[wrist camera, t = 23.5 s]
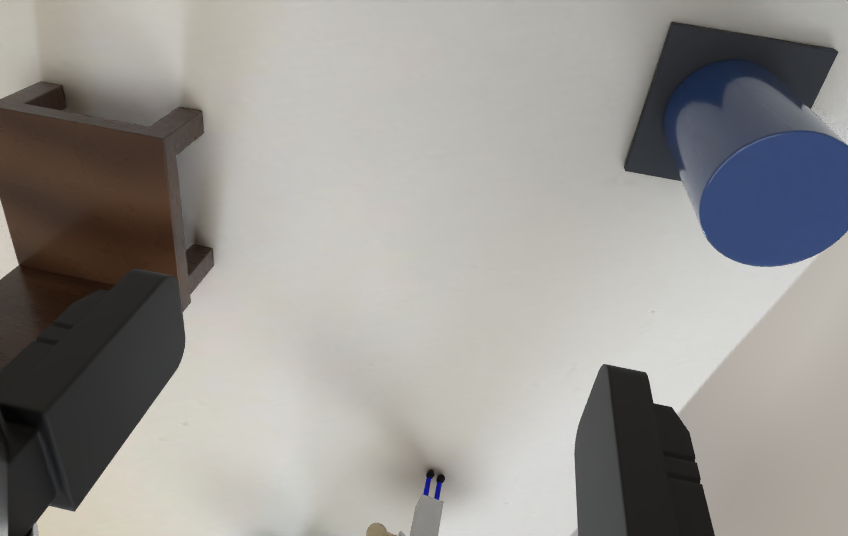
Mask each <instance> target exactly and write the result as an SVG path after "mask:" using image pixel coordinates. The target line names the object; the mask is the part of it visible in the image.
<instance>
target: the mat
mask: <svg viewBox="0 0 848 536" xmlns="http://www.w3.org/2000/svg"><path fill="white" fill-rule="evenodd" d="M837 54H838V51H836V50H835V49H832V48H826V47H820V46H814V45H808V44H802V43H796V42H790V41H784V40H778V39H772V38H766V37H760V36H754V35H748V34H742V33H736V32H730V31H724V30H718V29H712V28H706V27H699V26H693V25H687V24H681V23H675V22H672V23H671V25H670V28H669V31H668V34H667V37H666V40H665V43H664V46H663V49H662V53H661V56H660V59H659V62H658V65H657V68H656V71H655V74H654V77H653V80H652V83H651V86H650V89H649V92H648V95H647V98H646V101H645V104H644V107H643V110H642V113H641V116H640V119H639V123H638V126H637V129H636V132H635V135H634V138H633V141H632V144H631V147H630V150H629V153H628V156H627V159H626V162H625V165H624V168H625V171H629V172H634V173H640V174H645V175H651V176H656V177H662V178H667V179H673V180H678V181H682V180H681V178H680V175H679V173H678V170H677V168H676V166H675V163H674V161H673V158H672V156H671V154H670V151H669V149H668V146H667V144H666V141H665V138H664V134H663V124H662V123H663V115H664V111H665V108H666V105H667V103H668V101H669V99H670V97H671V95H672V94H673V92H674V91H675V90H676V88H677V87H678V86H679V85H680V84H681V83H682V82H683V81H684V80H685V79H686V78H687V77H688V76H690V75H691V74H693V73H694V72H695V71H697V70H699V69H701V68H702V67H705V66H707V65H709V64H712V63H715V62H719V61H724V60H735V59H737V60H747V61H752V62H755V63H757V64H760V65H762V66H764V67H766V68H767V69H768V70H770V71H771V72H772V73H773V74H774V75H775V76H776V77H777V78H779V79H780V80H781V81H782V82H783V83H784V84H785V85H786V86H787V87H788V88H789V89H790V90H791V91H792V92H793V93H794V94H795V95H796V96H797V97H798V98H799V99H800V100H801V101H802V102H803V103H804V104H806V105H807V106H808V107H809V108H810V109H811V108H812V106H813V103H814V101H815V99H816V97H817V95H818V93H819V91H820V89H821V87H822V85H823V83H824V81H825V79H826V77H827V74H828V72H829V70H830V68H831V66H832V64H833V62H834V60H835V58H836V56H837Z"/></svg>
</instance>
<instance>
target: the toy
mask: <svg viewBox="0 0 848 536" xmlns="http://www.w3.org/2000/svg"><path fill="white" fill-rule="evenodd" d="M433 476H434V471H433V470H429V471H428V472H427V474H426V477H427V478H426V483H425V489H424V494H422V496H421V498H420V499H419V501H418V503H417V505H416V507H415V512H414V517H413V522H412V527H411V532H410V536H438V532H439V526H440V519H441V513H442V507H443V501H440V500H439V497H440V491H441V485H442V483H443V482H444V480H445V476H444V475H439V476H438V477H437V480H436V481H437V486H436V491H435V497H434V498H432V497H429V496H428V493H429V488H430V482H431V479H432V478H433ZM366 536H396V535H393V534H390V533H388V532H387V530H386V528H385V527H384V526H383V525H382V524H380V523H374V524H372V525H370V526H369V527H368V529H367V532H366ZM398 536H405V535H404V534H403V532H402V531H400V533H399V535H398Z"/></svg>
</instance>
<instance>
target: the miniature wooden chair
mask: <svg viewBox="0 0 848 536" xmlns="http://www.w3.org/2000/svg"><path fill="white" fill-rule="evenodd" d="M66 108H67V106H66V101H65V96H64V91H63V86H62V85H58V84H52V83H47V82H41V81H40V82H38V83H36V84H33V85H31V86H29V87H27V88H24V89H22V90H20V91H18V92H15V93H13V94H11V95H9V96H7V97H4V98H2V99H0V199H1V203H2V207H3V210H4V214H5V217H6V221H7V224H8V228H9V231H10V235H11V239H12V242H13V246H14V249H15V253H16V256H17V260H18V263H19V266H17V267H16V268H15V269H13V270H12V271H11V272H10V273H8V274H7V275H6V276H4V277H3V278H2V279H1V280H0V371H1V370H2V369H3V368H4V367H5V366H6V365H8V364H9V363H10V362H11V361H12V360H13V359H14V358H15V357H16V356H17V355H18V354H19V353H20V352H21V351H22V350H23V349H24V348H26V347H27V346H28V345H29V344H30V343H31V342H32V341H36V339H37V336H38V335H39V334H40V333H41V332H42V331H44V330H45V329H46V328H47V327H48V326H49V325H50V326H52V325H53V321H54V320H55V319H56V318H57V317H58V316H59V315H60V314H62V313H63V312H64V311H65V310H66V309H67V308H68V307H69V306H70V305H71V304H72V303H74V302H76V301H78V300H79V299H81V298H83V297H85V296H87V295H89V294H91V293H93V292H95V291H97V290H99V289H103V290H108V291H109V290H110V289H111V288H112V287H113V286H114V285H115V284H116V283H117V282H118V281H119V280H120V279H121V278H122V277H123V276H124V275H125V274H126V273H127V272H129V271H130V270H132V269H142V270H147V271H152V272H156V273H161V274H166V275H171V276H174V277H176V278H177V280H178V282H179V287H180V295H181V304H182V312H183V311H184V310H185V309H186V308H187V306H188V305H189V304H190V303H191V298H190V294H191V293H192V292H193V291H194V289H195V288H196V287H197V286H198V285H199V283H200V282H201V281H202V280H203V278H204V277H205V276H206V275H207V273H208V272H209V271H210V270H211V268H212V267H213V266H214V264H213V250H212V248H207V247H202V246H197V245H191V246H190V248H189V249H188V250H187V251H186V249H185V239H184V229H183V219H182V210H181V200H180V190H179V180H178V171H177V161H176V155H177V154H179V153H180V152H181V151H182V150H184V149H185V148H186V147H187V146H189V145H190V144H191V143H192V142H194V141H195V140H196V139H197V138H198V137H200V136H201V135H202V134H203V133H204V131H203V117H202V111H200V110H195V109H189V108H184V107H178V108H177V109H175V110H174V111H172V112H171V113H169V114H168V115H166V116H165V117H163V118H162V119H161V120H159V121H158V122H156V123H155V124H153V125H152V126H150V127H147V126H142V125H136V124H131V123H125V122H120V121H115V120H109V119H104V118H98V117H93V116H88V115H82V114H77V113H72V112H66V111H62V110H64V109H66Z"/></svg>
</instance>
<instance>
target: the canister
mask: <svg viewBox="0 0 848 536" xmlns="http://www.w3.org/2000/svg"><path fill="white" fill-rule="evenodd" d="M662 124H663V134H664V138H665V141H666V144H667V146H668V149H669V151H670V154H671V156H672V158H673V161H674V163H675V166H676V168H677V170H678V173H679V175H680V178H681V180H682V182H683V185H684V187H685V190H686V192H687V195H688V197H689V199H690V202H691V204H692V207H693V209H694V211H695V214H696V216H697V219H698V221H699V223H700V226H701V228H702V231H703V233H704V235H705V237H706V238H707V240H708V241H709V242H710V244H711V245H712V246H713V247H714V248H715V249H716V250H717V251H718V252H720V253H721V254H723V255H724V256H726V257H728V258H730V259H732V260H734V261H737V262H740V263H742V264H747V265H751V266H760V267H773V266H782V265H788V264H792V263H796V262H799V261H802V260H805V259H807V258H810V257H812V256H814V255H816V254H818V253H820V252H822V251H824V250H825V249H827V248H828V247H830V246H831V245H833V244H834V243H835V242H836V241H837V240H839V239H840V238H841V237H842V236H843V235H844V234H845V233H846V232H847V231H848V145H847V144H846V143H845V142H844V141H843V140H842V139H841V138H840V137H839V136H838V135H837V134H836V133H835V132H834V131H832V130H831V129H830V128H829V127H828V126H827V125H826V124H825V123H824V122H823V121H822V120H821V119H820V118H819V117H818V116H817V115H816V114H815V113H814V112H813V111H812V110H811V109H810V108H809V107H808V106H807V105H806V104H804V103H803V102H802V101H801V100H800V99H799V98H798V97H797V96H796V95H795V94H794V93H793V92H792V91H791V90H790V89H789V88H788V87H787V86H786V85H785V84H784V83H783V82H782V81H781V80H780V79H779V78H777V77H776V76H775V75H774V74H773V73H772V72H771V71H770V70H768V69H767V68H766V67H764V66H762V65H760V64H757V63H755V62H752V61H747V60H737V59H735V60H724V61H719V62H715V63H712V64H709V65H707V66H705V67H702V68H701V69H699V70H697V71H695V72H694V73H693V74H691V75H690V76H688V77H687V78H686V79H685V80H684V81H683V82H682V83H681V84H680V85H679V86H678V87H677V88H676V90H675V91H674V92H673V94H672V95H671V97H670V99H669V101H668V103H667V105H666V108H665V111H664V115H663V123H662Z"/></svg>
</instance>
